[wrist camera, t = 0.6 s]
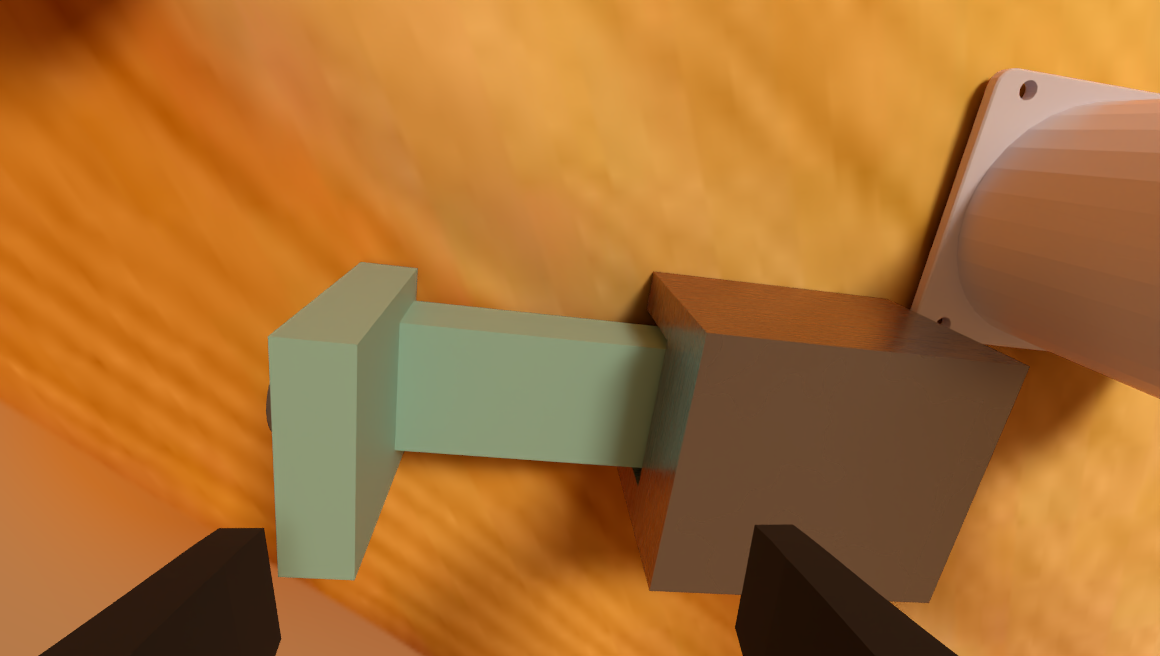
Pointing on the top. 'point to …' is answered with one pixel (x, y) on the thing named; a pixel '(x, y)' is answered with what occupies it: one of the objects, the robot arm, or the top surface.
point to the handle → (434, 401)
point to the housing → (811, 433)
